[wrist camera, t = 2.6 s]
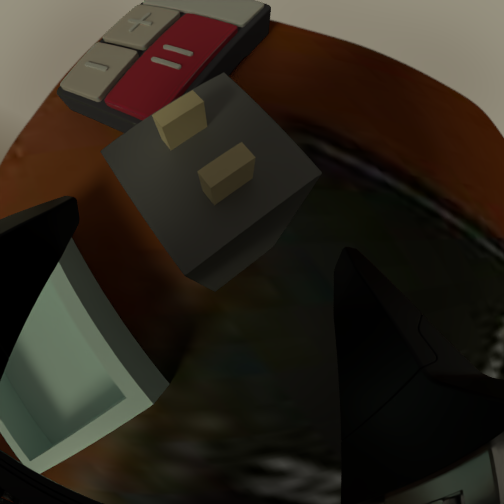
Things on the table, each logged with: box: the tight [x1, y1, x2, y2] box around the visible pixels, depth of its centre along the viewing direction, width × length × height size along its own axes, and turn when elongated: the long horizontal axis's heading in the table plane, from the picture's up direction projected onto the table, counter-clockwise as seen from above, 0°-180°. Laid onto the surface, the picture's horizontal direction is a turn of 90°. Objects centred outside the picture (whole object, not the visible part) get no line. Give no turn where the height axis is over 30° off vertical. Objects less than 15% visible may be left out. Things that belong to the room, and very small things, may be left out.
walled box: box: [0, 237, 169, 474], centre depth 15 cm, size 12×12×4 cm
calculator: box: [57, 0, 271, 133], centre depth 19 cm, size 11×4×15 cm
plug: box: [101, 73, 322, 291], centre depth 13 cm, size 4×4×12 cm
